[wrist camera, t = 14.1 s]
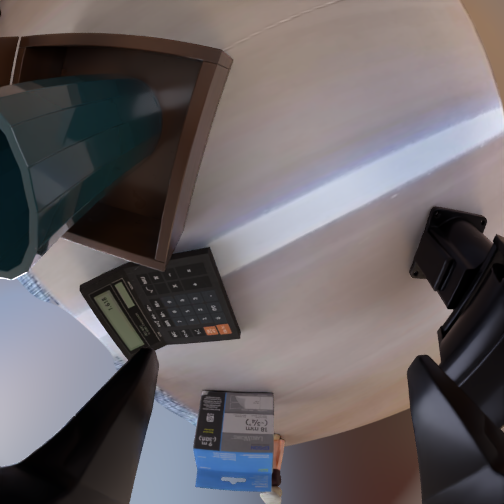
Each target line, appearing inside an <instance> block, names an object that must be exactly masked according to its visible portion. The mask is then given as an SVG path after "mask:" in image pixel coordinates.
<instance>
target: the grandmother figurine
mask: <svg viewBox="0 0 504 504" xmlns="http://www.w3.org/2000/svg"><path fill="white" fill-rule="evenodd" d="M284 443H285V441H284V440H282V439H280V435H278V434H274V454H273V472H272V484H271V485H272V491H271V492H264V493H261V494H260V497H261V498H262V500H263V501H264V502H265V503H266V504H280V503H281V498H280V497H281V495H282V490H281V489H280V488H279V487H278V486H279V485H280V483H281V476H280V468H281V463H282V457H283V452H284Z"/></svg>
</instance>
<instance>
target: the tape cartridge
mask: <svg viewBox="0 0 504 504" xmlns="http://www.w3.org/2000/svg"><path fill="white" fill-rule="evenodd" d="M193 451H194V456H195V461H196V466H197V478H196V487H200V488H210V489H219V490H232V491H253V492H271V491H272V485H271V484H272V472H273V454H274V396H273V393H231V392H213V391H202V395H201V401H200V407H199V414H198V420H197V426H196V432H195V438H194V445H193ZM222 477H234V478H245V479H246V482H237V483H236V484H231V483H230V482H229V481H222V480H221V478H222Z"/></svg>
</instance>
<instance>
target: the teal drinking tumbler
mask: <svg viewBox="0 0 504 504" xmlns="http://www.w3.org/2000/svg"><path fill="white" fill-rule="evenodd" d="M162 125H163V118H162V110H161V106H160V103H159V101H158V99H157V97H156V95H155V93H154V92H153V90H152V89H151V88H150V87H149V86H148V85H147V84H146V83H145V82H143V81H142V80H140V79H138V78H136V77H134V76H131V75H126V74H120V73H110V74H88V75H75V76H64V77H55V78H48V79H40V80H34V81H28V82H22V83H17V84H12V85H7V86H2V87H0V278H4V279H9V280H13V279H15V278H17V277H19V276H21V275H23V274H25V273H27V272H28V271H29V270H30V269H31V268H32V267H33V266H34V265H35V264H36V263H37V261H38V260H39V259H40V258H41V257H42V256H43V255H44V254H45V253H46V252H47V251H48V250H49V249H50V247H51V246H52V245H53V244H54V243H55V242H56V241H57V240H58V239H59V238H60V237H61V236H62V235H63V234H64V233H65V232H66V231H67V230H68V229H69V228H70V227H71V226H72V225H73V224H74V223H76V222H77V221H78V220H79V219H80V218H81V217H82V216H83V215H84V214H85V213H86V212H87V211H88V210H89V209H91V208H92V207H93V206H94V205H95V204H96V203H97V202H98V201H99V200H101V199H102V198H103V197H104V196H105V195H106V194H107V193H109V192H110V191H111V190H112V189H113V188H114V187H116V186H117V185H118V184H119V183H120V182H122V181H123V180H124V179H125V178H127V177H128V176H129V175H130V174H131V173H133V172H134V171H135V170H137V169H138V168H139V167H140V166H141V165H142V164H143V163H144V162H145V161H146V160H147V159H148V158H149V157H150V156H151V155H152V153H153V152H154V150H155V149H156V147H157V145H158V143H159V140H160V137H161V133H162Z"/></svg>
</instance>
